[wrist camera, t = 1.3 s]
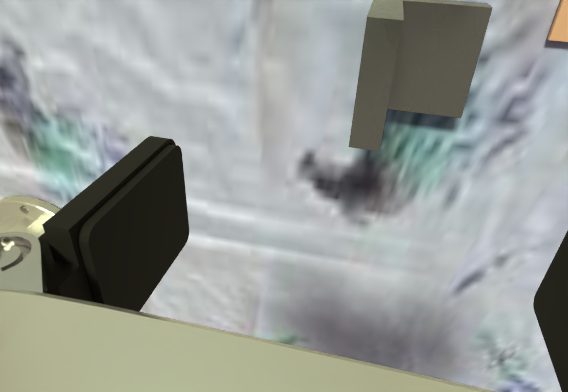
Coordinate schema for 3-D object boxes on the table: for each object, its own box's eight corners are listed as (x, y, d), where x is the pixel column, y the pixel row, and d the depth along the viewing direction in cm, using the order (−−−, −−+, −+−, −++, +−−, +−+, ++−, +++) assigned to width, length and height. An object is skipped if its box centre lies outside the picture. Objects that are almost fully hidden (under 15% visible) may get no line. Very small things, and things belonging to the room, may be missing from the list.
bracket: (375, -6, 24) (367, 17, 18) (487, 3, 23) (519, 30, 17) (360, 97, 27) (348, 146, 21) (458, 109, 26) (476, 164, 20)
